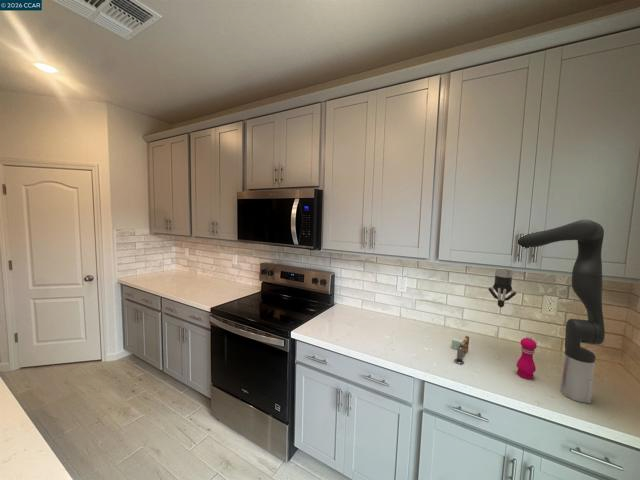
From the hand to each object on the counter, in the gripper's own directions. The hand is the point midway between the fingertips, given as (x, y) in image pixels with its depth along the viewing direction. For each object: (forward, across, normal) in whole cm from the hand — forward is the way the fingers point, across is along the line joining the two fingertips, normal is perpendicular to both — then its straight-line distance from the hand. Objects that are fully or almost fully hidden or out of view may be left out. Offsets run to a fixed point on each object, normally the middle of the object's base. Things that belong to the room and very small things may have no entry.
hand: (500, 306), depth 145 cm
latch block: (+27, +18, +7) cm, 33 cm away
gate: (+27, +14, +13) cm, 33 cm away
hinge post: (+27, +14, +22) cm, 38 cm away
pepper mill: (+27, -13, +14) cm, 33 cm away
